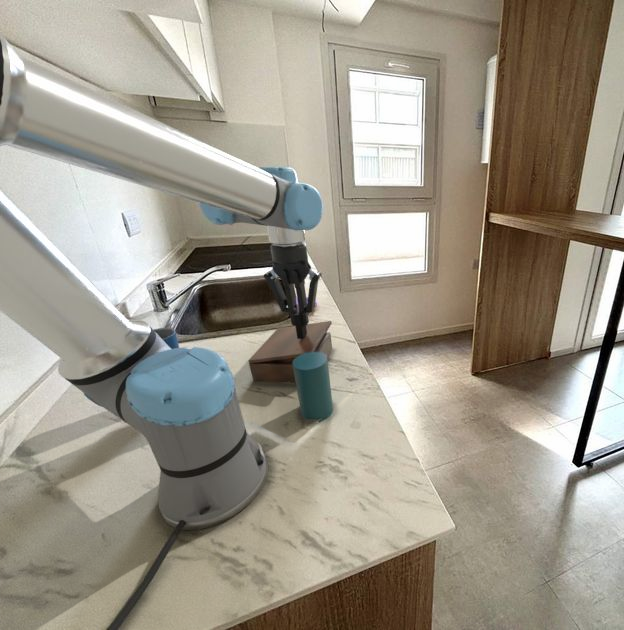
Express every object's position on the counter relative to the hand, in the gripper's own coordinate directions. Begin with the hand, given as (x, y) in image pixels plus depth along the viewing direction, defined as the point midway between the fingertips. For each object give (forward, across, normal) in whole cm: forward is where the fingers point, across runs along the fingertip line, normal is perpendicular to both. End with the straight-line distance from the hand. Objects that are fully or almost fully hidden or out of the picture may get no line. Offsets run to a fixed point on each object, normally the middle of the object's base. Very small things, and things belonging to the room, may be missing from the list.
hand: (302, 336), depth 83 cm
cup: (+9, +26, +12) cm, 30 cm away
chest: (+9, +3, 0) cm, 9 cm away
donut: (+9, +14, -36) cm, 39 cm away
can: (+9, -8, +17) cm, 21 cm away
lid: (+2, +2, 0) cm, 3 cm away
